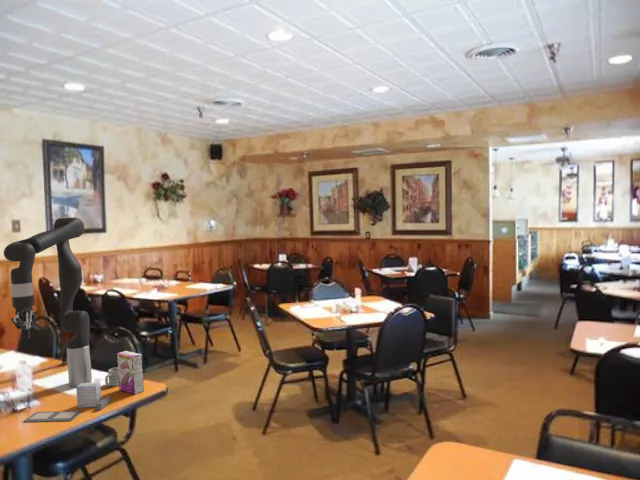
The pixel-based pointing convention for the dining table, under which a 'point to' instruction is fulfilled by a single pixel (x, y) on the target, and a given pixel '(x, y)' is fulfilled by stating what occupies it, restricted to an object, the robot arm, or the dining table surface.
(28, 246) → the robot arm
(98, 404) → the rubber stop
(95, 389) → the grey upright block
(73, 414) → the plate
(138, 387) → the candy bar box
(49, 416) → the plate
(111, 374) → the mug
